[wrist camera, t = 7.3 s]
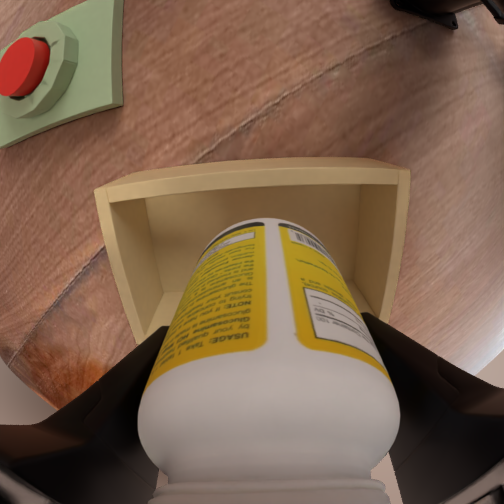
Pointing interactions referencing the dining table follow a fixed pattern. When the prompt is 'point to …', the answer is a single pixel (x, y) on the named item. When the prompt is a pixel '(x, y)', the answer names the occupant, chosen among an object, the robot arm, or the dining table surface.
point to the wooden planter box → (245, 208)
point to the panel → (69, 71)
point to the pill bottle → (268, 380)
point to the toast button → (23, 67)
